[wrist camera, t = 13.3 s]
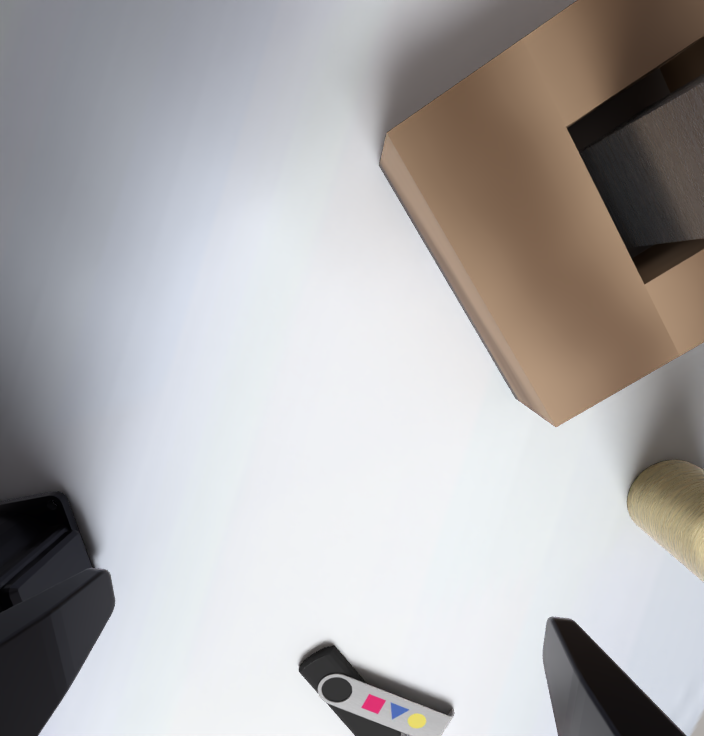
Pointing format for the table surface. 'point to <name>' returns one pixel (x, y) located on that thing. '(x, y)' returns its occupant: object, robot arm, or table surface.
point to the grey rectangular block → (654, 170)
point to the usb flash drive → (367, 700)
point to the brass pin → (672, 510)
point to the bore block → (556, 203)
